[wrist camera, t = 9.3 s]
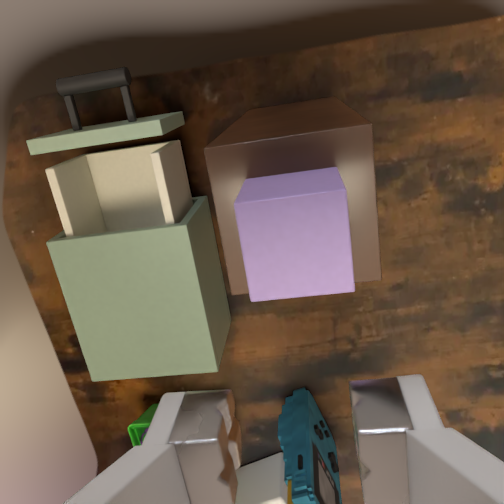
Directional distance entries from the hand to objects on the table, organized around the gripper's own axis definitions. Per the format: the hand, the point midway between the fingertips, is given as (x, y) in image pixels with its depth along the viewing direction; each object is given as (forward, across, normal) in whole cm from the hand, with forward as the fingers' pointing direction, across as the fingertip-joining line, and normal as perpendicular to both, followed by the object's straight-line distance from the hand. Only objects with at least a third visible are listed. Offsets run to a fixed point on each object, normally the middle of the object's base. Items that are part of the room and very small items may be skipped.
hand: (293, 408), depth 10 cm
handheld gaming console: (+37, +2, +32) cm, 50 cm away
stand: (+37, 0, 0) cm, 37 cm away
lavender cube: (+14, 0, 0) cm, 14 cm away
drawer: (+36, +16, 0) cm, 39 cm away
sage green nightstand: (+37, +16, +11) cm, 42 cm away
